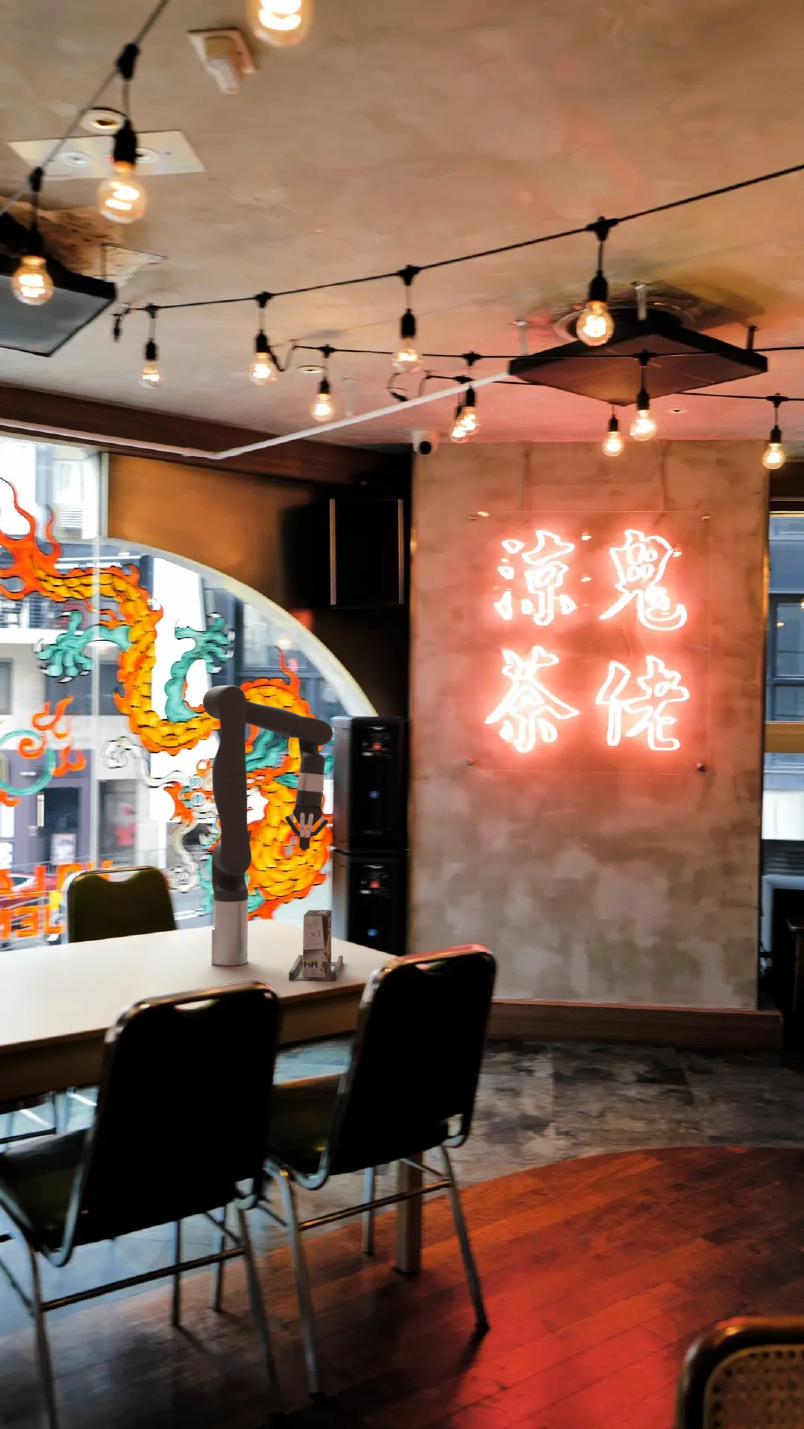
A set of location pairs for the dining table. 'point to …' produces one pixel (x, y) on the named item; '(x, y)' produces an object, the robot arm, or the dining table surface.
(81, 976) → the dining table surface
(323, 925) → the coffee box
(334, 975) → the lane frame
